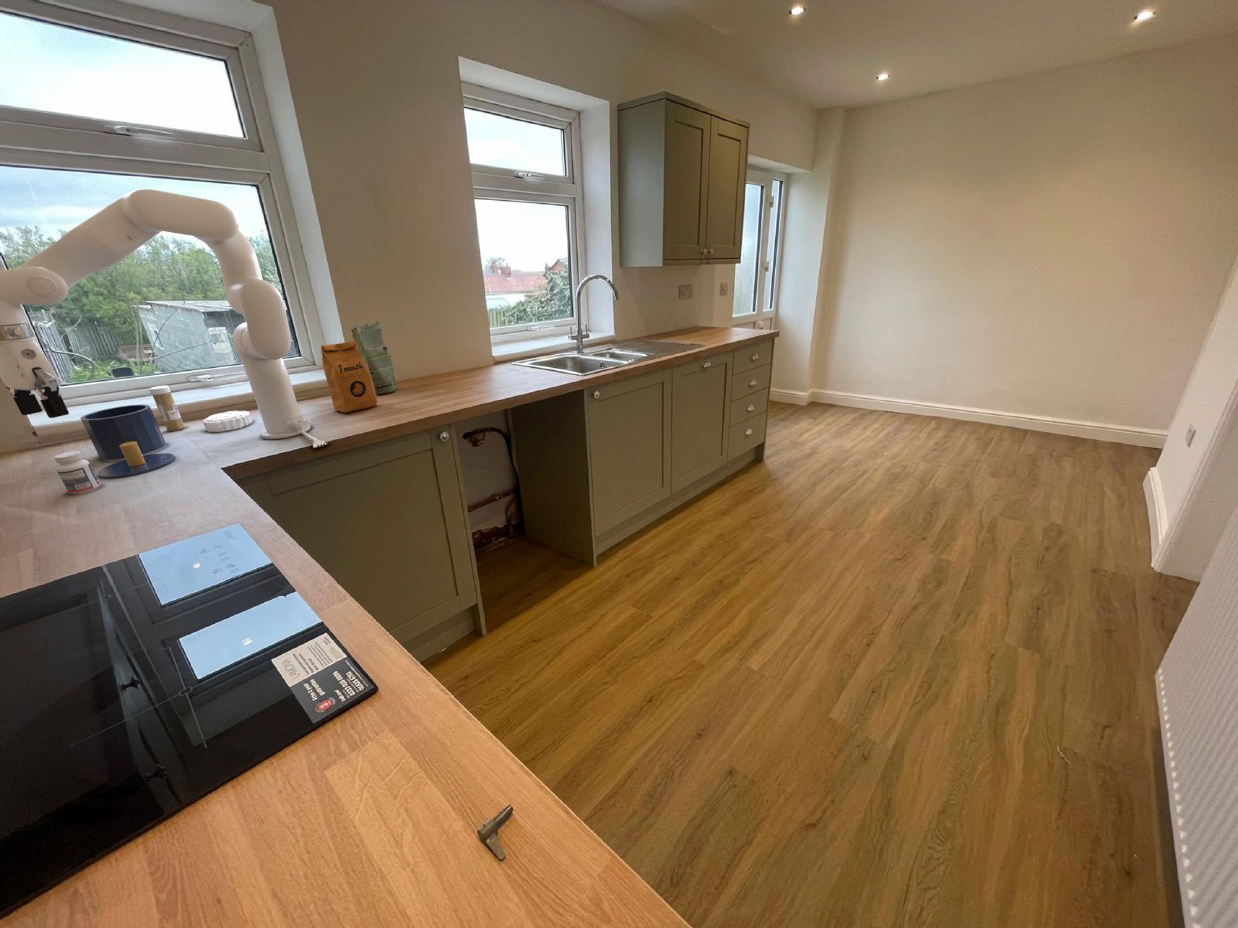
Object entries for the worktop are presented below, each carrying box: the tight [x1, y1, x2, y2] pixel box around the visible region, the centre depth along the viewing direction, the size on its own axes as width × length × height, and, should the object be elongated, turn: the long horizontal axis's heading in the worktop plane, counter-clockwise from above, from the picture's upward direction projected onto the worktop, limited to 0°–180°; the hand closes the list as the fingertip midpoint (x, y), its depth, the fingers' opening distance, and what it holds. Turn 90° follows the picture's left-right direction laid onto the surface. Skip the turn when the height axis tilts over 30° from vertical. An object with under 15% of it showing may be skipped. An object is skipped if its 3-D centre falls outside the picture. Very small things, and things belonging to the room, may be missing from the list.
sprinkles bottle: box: [149, 385, 186, 432], centre depth 153 cm, size 5×5×14 cm
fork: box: [301, 431, 329, 449], centre depth 139 cm, size 3×20×2 cm, turn 45°
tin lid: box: [97, 442, 176, 480], centre depth 125 cm, size 15×15×7 cm
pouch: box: [350, 321, 398, 395], centre depth 183 cm, size 11×12×25 cm
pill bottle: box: [54, 450, 101, 494], centre depth 113 cm, size 5×5×9 cm
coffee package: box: [320, 339, 378, 413], centre depth 163 cm, size 10×12×22 cm
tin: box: [79, 404, 167, 461], centre depth 135 cm, size 14×14×12 cm
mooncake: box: [202, 410, 253, 433], centre depth 155 cm, size 12×12×4 cm
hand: (45, 414), depth 109 cm, fingers open, 9 cm apart
